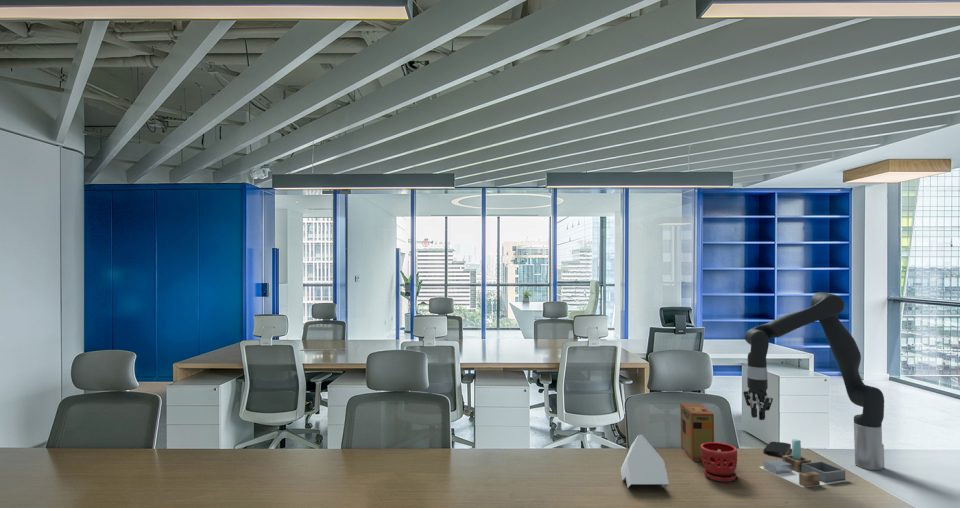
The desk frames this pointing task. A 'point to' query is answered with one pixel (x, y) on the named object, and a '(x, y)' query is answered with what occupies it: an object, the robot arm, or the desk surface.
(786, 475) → the board
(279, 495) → the desk surface
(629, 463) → the slotted wedge
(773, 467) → the grey rectangular brick
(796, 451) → the dowel
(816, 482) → the brown wooden block
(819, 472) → the tray
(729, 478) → the plant pot
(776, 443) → the black sponge
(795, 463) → the socket
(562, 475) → the desk surface
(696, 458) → the box
